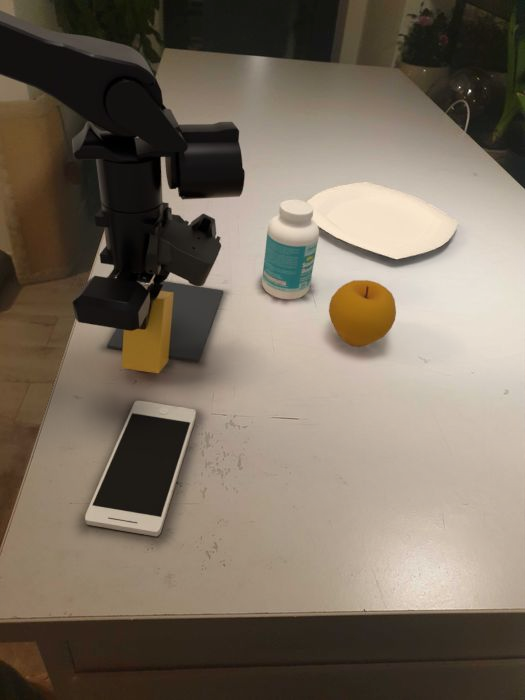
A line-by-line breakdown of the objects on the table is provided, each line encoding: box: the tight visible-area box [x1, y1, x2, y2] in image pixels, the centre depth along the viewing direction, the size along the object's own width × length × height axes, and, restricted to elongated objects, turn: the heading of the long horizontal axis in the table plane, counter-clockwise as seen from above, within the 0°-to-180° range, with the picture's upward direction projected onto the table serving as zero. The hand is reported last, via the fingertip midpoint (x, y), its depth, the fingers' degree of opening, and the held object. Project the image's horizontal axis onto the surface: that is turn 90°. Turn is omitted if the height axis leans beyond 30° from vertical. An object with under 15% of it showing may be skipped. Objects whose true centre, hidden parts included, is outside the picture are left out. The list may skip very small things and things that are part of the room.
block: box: [121, 291, 174, 374], centre depth 63 cm, size 4×4×9 cm
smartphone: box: [84, 400, 197, 537], centre depth 54 cm, size 7×16×1 cm, turn 173°
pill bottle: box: [261, 199, 320, 300], centre depth 77 cm, size 8×7×14 cm
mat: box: [106, 280, 224, 364], centre depth 73 cm, size 12×16×1 cm
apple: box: [328, 279, 397, 348], centre depth 71 cm, size 9×9×9 cm
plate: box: [306, 181, 459, 261], centre depth 100 cm, size 27×27×2 cm
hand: (142, 327), depth 60 cm, fingers closed
